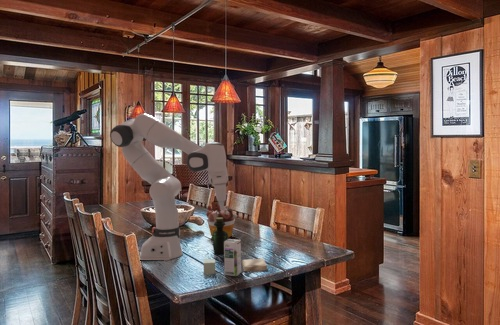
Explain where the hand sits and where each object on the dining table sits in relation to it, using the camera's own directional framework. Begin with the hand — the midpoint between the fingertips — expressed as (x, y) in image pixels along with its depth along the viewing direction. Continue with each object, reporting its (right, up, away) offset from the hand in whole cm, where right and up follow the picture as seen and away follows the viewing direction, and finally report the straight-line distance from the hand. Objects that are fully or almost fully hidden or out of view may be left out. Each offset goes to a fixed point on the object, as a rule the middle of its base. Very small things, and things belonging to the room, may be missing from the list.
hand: (221, 208), depth 178 cm
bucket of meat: (-4, -23, +55) cm, 60 cm away
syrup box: (+6, -27, -9) cm, 29 cm away
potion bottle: (-2, -26, +21) cm, 33 cm away
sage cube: (-5, -27, -7) cm, 28 cm away
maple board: (+15, -26, -1) cm, 30 cm away
